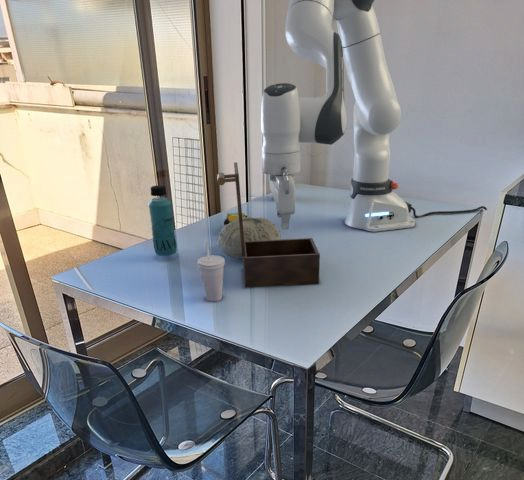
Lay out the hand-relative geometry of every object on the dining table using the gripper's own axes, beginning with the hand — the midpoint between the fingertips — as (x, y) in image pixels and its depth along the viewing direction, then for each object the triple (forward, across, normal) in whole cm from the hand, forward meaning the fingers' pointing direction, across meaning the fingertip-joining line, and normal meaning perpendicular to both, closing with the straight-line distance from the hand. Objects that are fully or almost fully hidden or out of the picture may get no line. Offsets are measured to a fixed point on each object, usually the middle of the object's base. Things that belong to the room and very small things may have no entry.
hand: (282, 222), depth 123 cm
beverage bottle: (+14, +19, +32) cm, 40 cm away
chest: (+14, 0, +1) cm, 14 cm away
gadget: (+14, +41, +10) cm, 44 cm away
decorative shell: (+14, +16, +8) cm, 23 cm away
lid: (-4, +1, +10) cm, 11 cm away
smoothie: (+14, -10, +18) cm, 25 cm away
